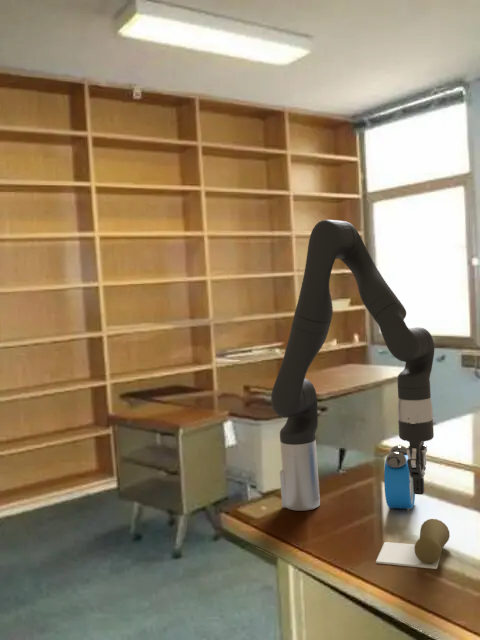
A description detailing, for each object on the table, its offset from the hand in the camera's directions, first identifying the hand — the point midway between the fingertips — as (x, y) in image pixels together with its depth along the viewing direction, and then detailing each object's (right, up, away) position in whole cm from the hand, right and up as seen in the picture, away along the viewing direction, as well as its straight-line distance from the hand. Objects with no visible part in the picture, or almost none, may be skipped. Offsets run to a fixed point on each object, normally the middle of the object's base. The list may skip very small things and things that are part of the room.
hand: (419, 493), depth 147 cm
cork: (+1, -6, -7) cm, 10 cm away
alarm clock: (0, -8, +17) cm, 19 cm away
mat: (-5, -10, -11) cm, 16 cm away
